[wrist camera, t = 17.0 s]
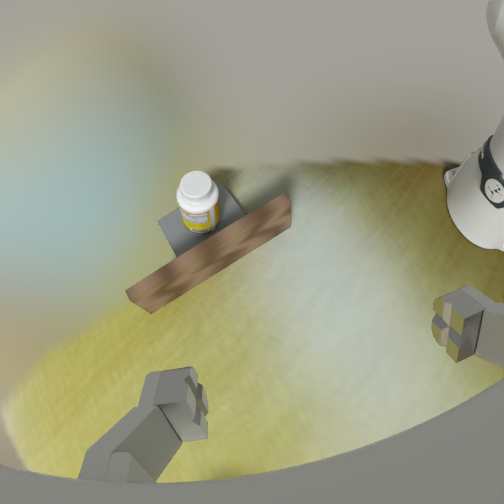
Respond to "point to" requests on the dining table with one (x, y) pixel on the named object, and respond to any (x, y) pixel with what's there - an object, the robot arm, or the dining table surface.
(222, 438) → the dining table surface
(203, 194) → the supplement bottle
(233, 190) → the dining table surface
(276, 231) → the walnut screen
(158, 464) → the robot arm
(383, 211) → the dining table surface
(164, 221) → the grey mat
